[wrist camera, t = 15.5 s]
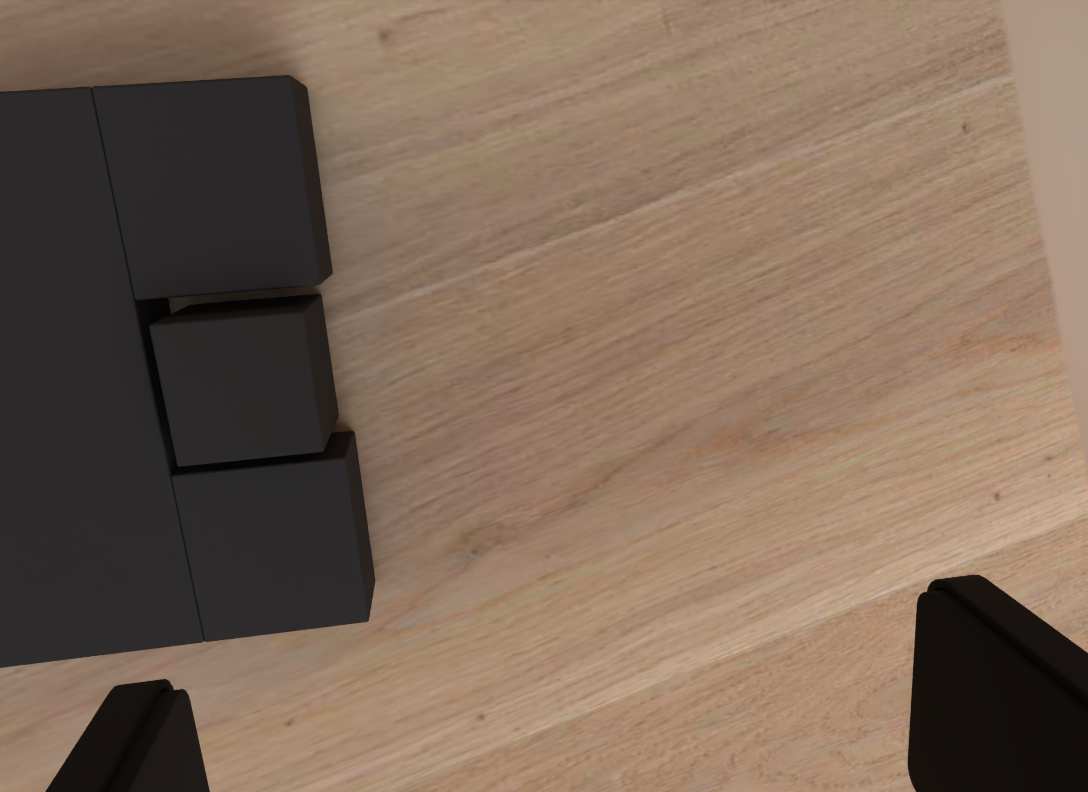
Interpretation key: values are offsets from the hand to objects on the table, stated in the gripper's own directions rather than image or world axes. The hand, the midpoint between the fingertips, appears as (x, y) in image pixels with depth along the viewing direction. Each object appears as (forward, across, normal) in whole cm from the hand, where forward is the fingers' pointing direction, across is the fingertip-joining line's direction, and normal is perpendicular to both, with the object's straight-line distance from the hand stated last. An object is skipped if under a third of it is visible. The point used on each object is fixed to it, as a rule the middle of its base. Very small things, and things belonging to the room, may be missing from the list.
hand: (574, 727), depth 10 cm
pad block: (+20, +8, -1) cm, 22 cm away
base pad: (+20, +14, -1) cm, 25 cm away
